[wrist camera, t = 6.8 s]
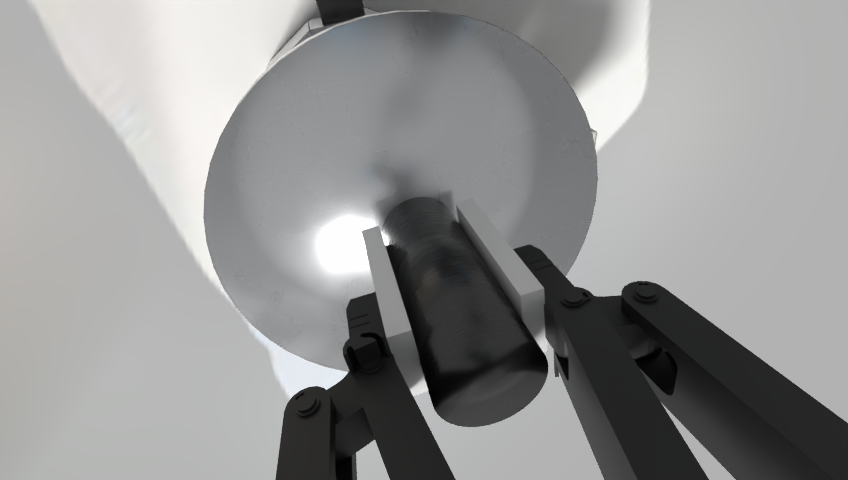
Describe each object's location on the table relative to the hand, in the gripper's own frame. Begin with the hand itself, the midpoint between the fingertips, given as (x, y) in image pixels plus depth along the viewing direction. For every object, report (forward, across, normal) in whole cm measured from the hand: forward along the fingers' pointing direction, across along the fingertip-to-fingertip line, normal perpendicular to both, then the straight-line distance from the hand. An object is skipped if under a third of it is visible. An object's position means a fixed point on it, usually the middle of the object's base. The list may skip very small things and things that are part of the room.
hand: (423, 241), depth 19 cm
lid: (+2, 0, 0) cm, 2 cm away
